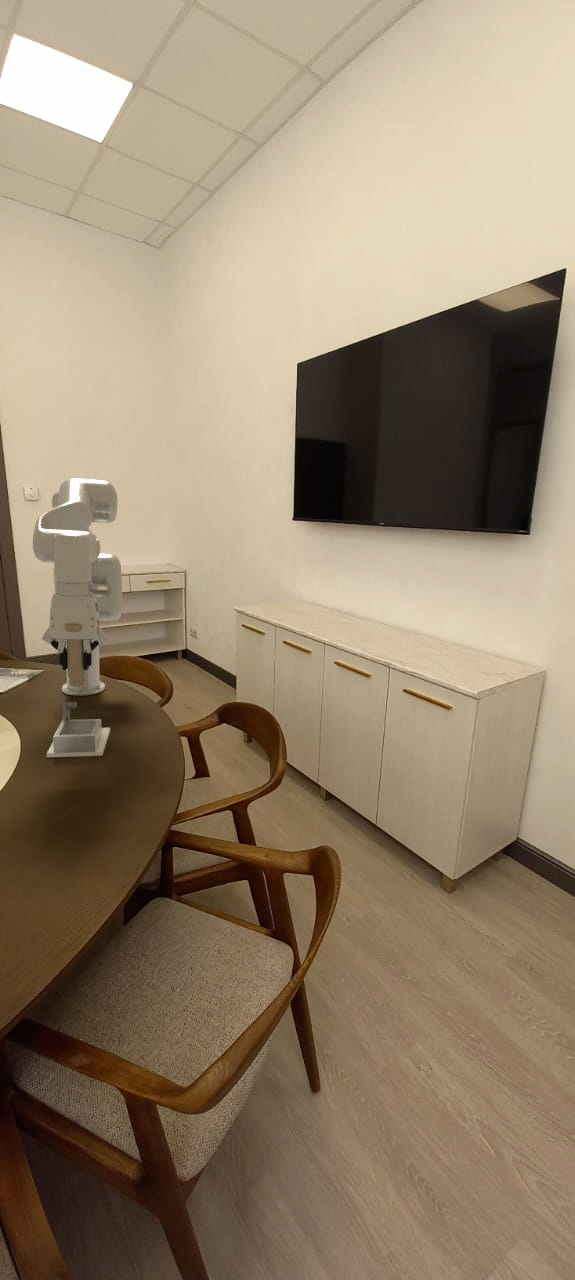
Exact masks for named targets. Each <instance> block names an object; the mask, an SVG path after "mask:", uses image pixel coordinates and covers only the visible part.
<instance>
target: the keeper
mask: <svg viewBox="0 0 575 1280" xmlns="http://www.w3.org/2000/svg"><path fill="white" fill-rule="evenodd" d="M77 708H78V703H77V702H75V701H74V702H64V703H63V704H62V720H61V722H60V723H59V725H58V727H57V729H56V731H55V732H54V734H53V736H52V743H51V745H50V747H49V749H47V752H46V758H66V757H67V758H68V757H69V758H71V757H72V758H73V757H98V756H99V757H100V756H102V757H103V755H104V751H105V749H106V746H107V742H108V739H109V736H110V732H111V727H103V725H102V719H101V718H97V719H96V718H93V719H87V718H85V719H71V709H77Z"/></svg>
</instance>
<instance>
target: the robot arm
mask: <svg viewBox="0 0 575 1280" xmlns="http://www.w3.org/2000/svg"><path fill="white" fill-rule="evenodd" d="M51 505H52V508H51V509H49V510H47V511H45V512H43V514H41V515H39V517H38V518H37V520H36V521H35V524H34V530H33V535H32V550H33V554H34V556H35V558H37V560H38V561H40V562H42V563H51V564H53V569H54V594H52V595H51V601H50V611H49V626H48V627H47V629H46V630H45V633H43V635H42V637H41V639H42V641H44V642H46V643H47V644H49V645H51V646H52V647H53V648H54V649H55V650H56V651H57V653H58V654H59V665H60V666H62V670H63V671H66V683H64V684H62V686H61V692H63V694H66V695H70V696H89V695H90V696H91V695H96V694H98V693H101V692H103V691H105V689H106V684H105V683H104V682H102V681H101V680H100V679H101V678H100V677H101V676H100V645H101V644H104V643H105V642H106V641H107V640H108V636H107V634H106V633H105V632H104V631H103V629H102V628H101V626H100V621H104V622H105V621H106V622H107V621H110V622H111V621H117V620H119V619H121V617H122V614H123V581H122V580H123V577H122V565H121V561H120V559H119V557H118V556H117V555H115V554H113V553H101V542H100V540H99V539H98V537H97V536H96V534H95V533H93V531H92V530H91V529H90V527H91V525H92V523H99V524H102V523H103V524H104V523H105V524H111V523H113V522H114V521H115V520H116V518H117V515H118V494H117V490H116V488H115V487H114V485H113V484H112V483H111V482H109V481H107V480H102V479H101V480H98V479H88V478H68V479H66V480H64V481H63V482H62V483H61V484H60V486H59V490H58V491H57V492H55V493H54V494H52V497H51ZM99 586H105V588H106V589H99ZM65 624H82V630H81V631H79V632H69V631H67V630H65ZM67 640H83V644H84V654H83V658H84V670H85V677H84V678H83V679H85V681H84V685H82V686H80V687H72V686H70V685H69V680H70V679H69V678H68V671H67Z"/></svg>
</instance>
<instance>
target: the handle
mask: <svg viewBox="0 0 575 1280" xmlns="http://www.w3.org/2000/svg"><path fill="white" fill-rule="evenodd" d="M65 630H67V631H69V632H79V631H81V630H82V624H65ZM83 654H84V644H83V640H67V669H66V672H67V671H68V678H69V679H70V680H69V685H70V686H72V687H80V686H82V685H84V681H85V679H83V678H84V677H85V670H84V658H83Z"/></svg>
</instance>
